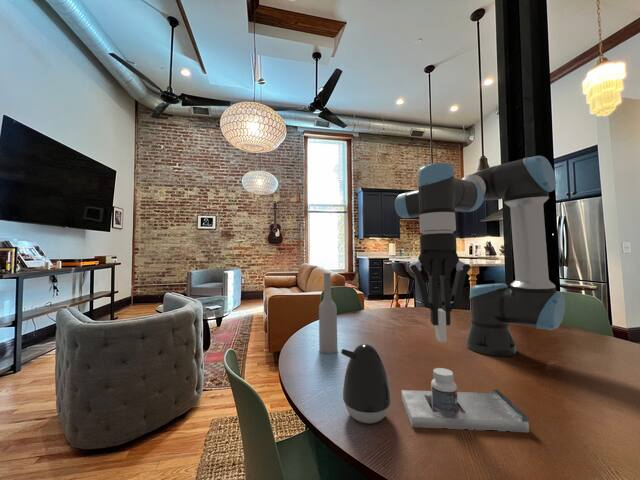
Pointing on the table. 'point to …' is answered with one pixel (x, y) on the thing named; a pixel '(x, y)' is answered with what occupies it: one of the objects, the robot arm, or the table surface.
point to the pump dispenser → (366, 385)
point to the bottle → (327, 320)
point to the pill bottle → (444, 391)
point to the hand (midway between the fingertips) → (441, 339)
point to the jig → (466, 412)
